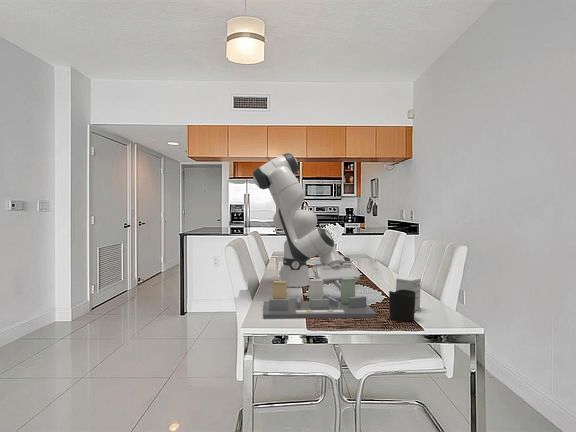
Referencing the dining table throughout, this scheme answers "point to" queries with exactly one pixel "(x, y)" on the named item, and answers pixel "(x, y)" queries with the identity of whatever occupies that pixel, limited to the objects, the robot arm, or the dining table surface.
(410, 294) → the pen holder
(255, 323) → the dining table surface
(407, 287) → the supplement box
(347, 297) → the key sage
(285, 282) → the key ochre
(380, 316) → the dining table surface
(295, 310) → the keypad console
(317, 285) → the key cream
